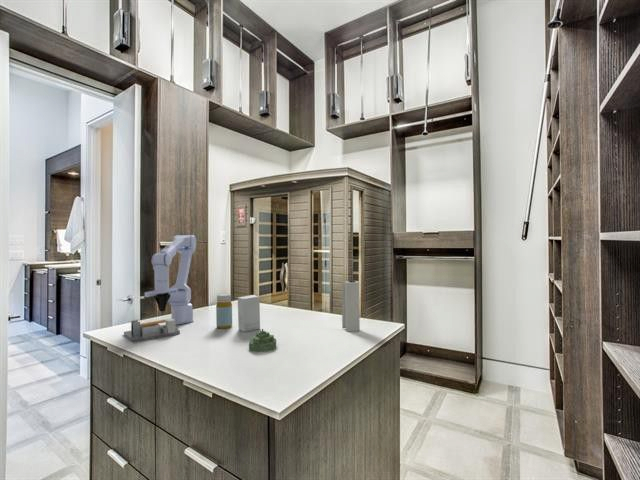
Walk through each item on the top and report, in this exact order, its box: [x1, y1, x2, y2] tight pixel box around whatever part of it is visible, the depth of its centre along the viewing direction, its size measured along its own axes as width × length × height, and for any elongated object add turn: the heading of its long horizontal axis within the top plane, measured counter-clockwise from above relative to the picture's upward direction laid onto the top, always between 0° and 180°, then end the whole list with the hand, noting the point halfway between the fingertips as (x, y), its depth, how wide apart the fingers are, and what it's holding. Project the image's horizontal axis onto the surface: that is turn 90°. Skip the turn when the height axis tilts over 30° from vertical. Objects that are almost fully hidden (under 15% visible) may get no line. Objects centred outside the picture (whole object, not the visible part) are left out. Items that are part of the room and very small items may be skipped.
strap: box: [140, 319, 165, 327], centre depth 143 cm, size 13×2×1 cm, turn 132°
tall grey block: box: [341, 280, 361, 333], centre depth 145 cm, size 7×6×21 cm
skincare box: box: [237, 294, 261, 333], centre depth 148 cm, size 8×6×15 cm
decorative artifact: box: [248, 328, 277, 353], centre depth 122 cm, size 10×7×10 cm
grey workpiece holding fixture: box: [123, 319, 181, 343], centre depth 142 cm, size 18×16×6 cm
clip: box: [163, 318, 177, 333], centre depth 142 cm, size 3×6×5 cm, turn 42°
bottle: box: [215, 293, 233, 330], centre depth 153 cm, size 7×7×15 cm
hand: (162, 311), depth 146 cm, fingers closed
